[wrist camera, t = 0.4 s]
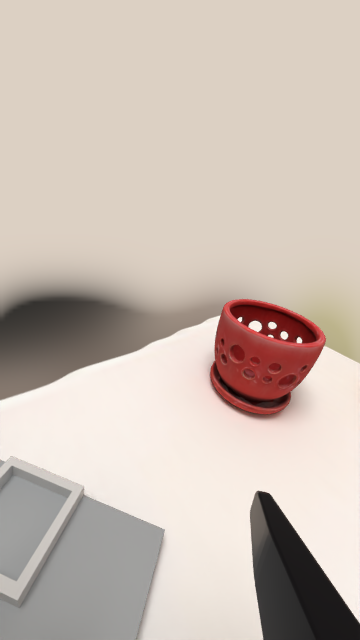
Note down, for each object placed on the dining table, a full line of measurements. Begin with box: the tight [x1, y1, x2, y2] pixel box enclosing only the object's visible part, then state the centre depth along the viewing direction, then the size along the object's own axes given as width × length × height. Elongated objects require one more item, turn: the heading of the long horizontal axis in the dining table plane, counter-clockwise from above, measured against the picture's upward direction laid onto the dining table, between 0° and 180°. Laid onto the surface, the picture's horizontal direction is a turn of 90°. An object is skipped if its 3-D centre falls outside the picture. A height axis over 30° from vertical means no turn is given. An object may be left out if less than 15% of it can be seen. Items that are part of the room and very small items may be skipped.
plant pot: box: [210, 299, 326, 414], centre depth 36 cm, size 13×13×12 cm
